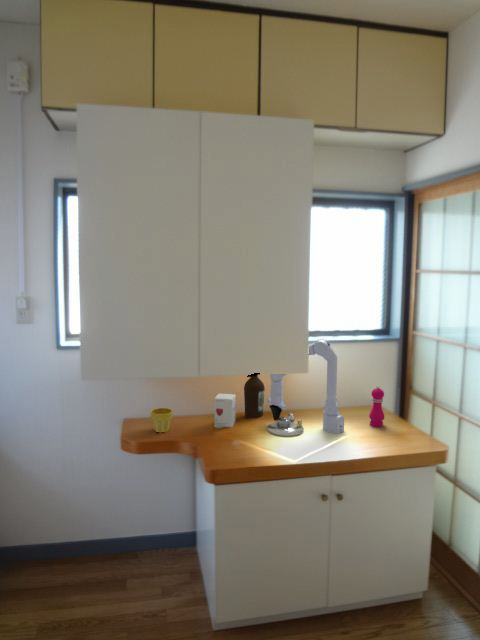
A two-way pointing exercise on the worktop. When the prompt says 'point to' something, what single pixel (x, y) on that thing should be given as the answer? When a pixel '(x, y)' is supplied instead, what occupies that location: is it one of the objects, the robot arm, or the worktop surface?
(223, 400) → the supplement box
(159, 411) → the plant pot
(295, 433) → the turntable
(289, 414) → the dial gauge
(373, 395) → the pepper mill
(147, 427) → the worktop surface
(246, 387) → the olive oil
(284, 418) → the cover
